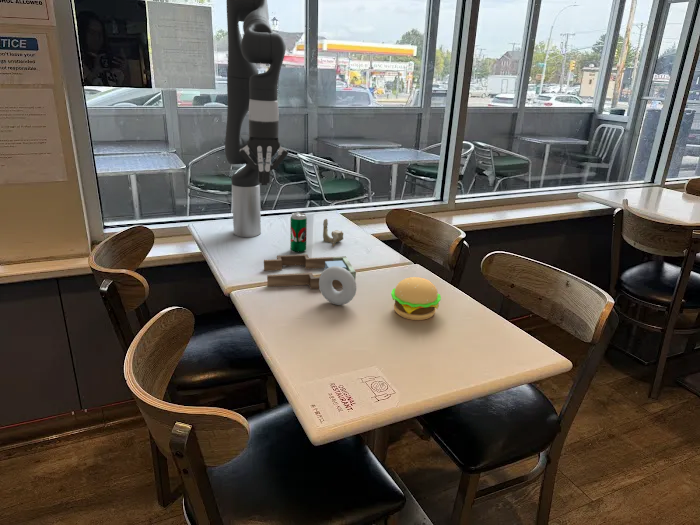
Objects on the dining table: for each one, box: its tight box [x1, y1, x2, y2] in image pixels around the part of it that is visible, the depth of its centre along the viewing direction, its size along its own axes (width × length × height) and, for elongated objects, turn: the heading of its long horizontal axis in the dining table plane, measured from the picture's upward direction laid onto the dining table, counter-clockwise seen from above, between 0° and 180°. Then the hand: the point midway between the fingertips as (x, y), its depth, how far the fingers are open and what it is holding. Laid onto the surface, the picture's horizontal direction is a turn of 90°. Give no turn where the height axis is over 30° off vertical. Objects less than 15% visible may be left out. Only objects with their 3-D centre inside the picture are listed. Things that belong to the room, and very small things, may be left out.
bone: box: [322, 218, 344, 247], centre depth 164 cm, size 9×6×10 cm
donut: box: [319, 266, 357, 306], centre depth 122 cm, size 10×4×10 cm, turn 65°
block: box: [324, 261, 346, 270], centre depth 140 cm, size 5×5×4 cm
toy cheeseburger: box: [390, 276, 442, 321], centre depth 120 cm, size 12×12×9 cm
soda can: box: [289, 212, 308, 254], centre depth 155 cm, size 5×5×12 cm
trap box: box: [263, 254, 357, 290], centre depth 139 cm, size 18×24×3 cm
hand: (263, 184), depth 133 cm, fingers closed
